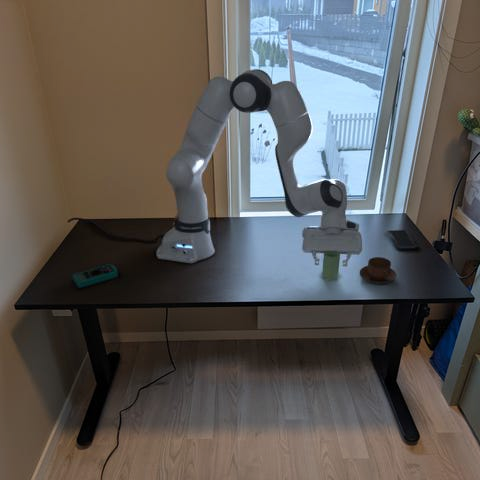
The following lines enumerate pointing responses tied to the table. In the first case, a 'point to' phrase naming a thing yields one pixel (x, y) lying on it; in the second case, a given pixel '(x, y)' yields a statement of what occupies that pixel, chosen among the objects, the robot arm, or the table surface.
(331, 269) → the green cylindrical container
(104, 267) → the digital multimeter
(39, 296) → the table surface
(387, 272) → the cup and saucer
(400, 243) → the phone
